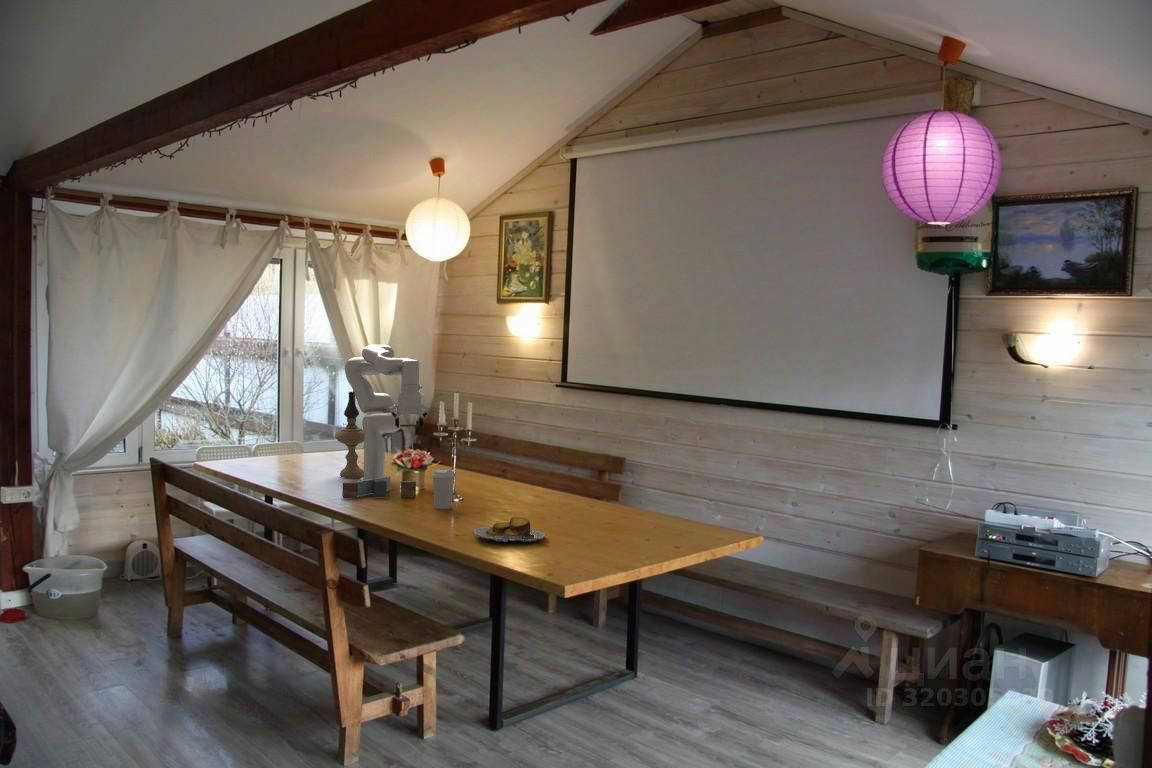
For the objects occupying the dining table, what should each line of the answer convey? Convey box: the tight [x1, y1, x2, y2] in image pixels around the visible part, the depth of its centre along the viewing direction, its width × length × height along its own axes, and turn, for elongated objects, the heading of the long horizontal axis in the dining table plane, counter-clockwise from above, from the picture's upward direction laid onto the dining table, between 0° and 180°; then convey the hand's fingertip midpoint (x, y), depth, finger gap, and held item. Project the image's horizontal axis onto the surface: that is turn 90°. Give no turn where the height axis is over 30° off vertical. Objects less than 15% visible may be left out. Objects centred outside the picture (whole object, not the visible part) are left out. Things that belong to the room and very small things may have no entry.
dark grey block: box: [372, 478, 387, 498], centre depth 366 cm, size 7×5×7 cm
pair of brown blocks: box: [341, 480, 417, 499], centre depth 363 cm, size 2×30×6 cm, turn 108°
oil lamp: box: [334, 391, 364, 479], centre depth 407 cm, size 15×15×40 cm
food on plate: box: [472, 516, 547, 543], centre depth 303 cm, size 25×25×7 cm
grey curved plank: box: [355, 475, 391, 497], centre depth 370 cm, size 2×18×6 cm, turn 145°
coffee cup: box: [431, 468, 457, 510], centre depth 348 cm, size 10×10×15 cm
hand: (408, 427), depth 376 cm, fingers open, 9 cm apart
